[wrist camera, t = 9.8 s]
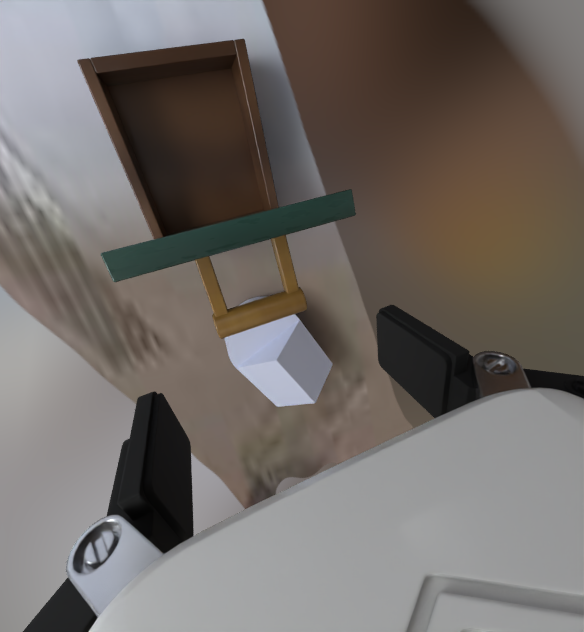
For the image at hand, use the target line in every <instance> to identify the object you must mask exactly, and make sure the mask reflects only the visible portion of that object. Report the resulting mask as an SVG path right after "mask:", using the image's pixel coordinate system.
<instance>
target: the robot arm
mask: <svg viewBox="0 0 584 632" xmlns="http://www.w3.org/2000/svg"><path fill="white" fill-rule="evenodd" d="M376 318H377V341H378V361H379V364H380V366H381V367H382V368H383V369H384V370H385V371H386V372H387V373H388V374H389V375H390V376H391V377H392V378H393V379H394V380H395V381H396V382H398V383H399V384H400V385H401V386H402V387H403V388H404V389H405V390H406V391H407V392H408V393H409V394H410V395H411V396H412V397H413V398H414V399H415V400H416V401H417V402H418V403H419V404H420V405H422V406H423V407H424V408H425V409H426V410H427V411H428V412H429V413H430V414H431V415H432V416H433V417H434V418H435V419H433V420H431V421H428V422H426V423H425V424H422V425H420V426H418V427H416V428H414V429H411V430H409V431H407V432H405V433H403V434H401V435H399V436H397V437H395V438H392V439H390V440H388V441H386V442H384V443H382V444H380V445H378V446H376V447H373V448H371V449H369V450H367V451H365V452H363V453H361V454H359V455H357V456H355V457H353V458H350V459H348V460H346V461H344V462H342V463H340V464H338V465H336V466H334V467H332V468H330V469H328V470H325V471H323V472H321V473H319V474H317V475H315V476H313V477H311V478H309V479H307V480H305V481H303V482H301V483H299V484H296V485H294V486H293V487H290V488H288V489H286V490H284V491H282V492H280V493H278V494H276V495H274V496H272V497H270V498H268V499H266V500H263V501H261V502H259V503H257V504H255V505H253V506H251V507H249V508H247V509H245V510H243V511H241V512H239V513H237V514H235V515H233V516H231V517H229V518H227V519H225V520H224V521H221V522H219V523H218V524H215V525H213V526H212V527H210V528H208V529H206V530H204V531H202V532H200V533H198V534H196V535H195V536H193V505H192V504H193V503H192V475H191V446H190V441H189V439H188V437H187V435H186V433H185V431H184V430H183V428H182V426H181V425H180V423H179V421H178V419H177V418H176V416H175V414H174V412H173V411H172V409H171V407H170V405H169V404H168V402H167V400H166V399H165V397H164V395H163V394H162V393H160V394H157V393H156V392H151V393H149V394H146V395H143V396H140V397H139V398H138V400H137V404H136V409H135V415H134V420H133V425H132V430H131V435H130V439H128V440H126V441H124V443H123V445H122V449H121V453H120V458H119V462H118V467H117V472H116V476H115V481H114V485H113V490H112V494H111V499H110V503H109V508H108V512H107V516H106V517H104V518H102V519H100V520H98V521H97V522H95V523H94V524H92V525H91V526H90V527H89V528H88V529H87V530H86V531H85V532H84V533H83V534H82V535H81V537H80V538H79V539H78V540H77V541H76V543H75V545H74V547H73V548H72V550H71V552H70V555H69V557H68V560H67V566H66V572H67V575H68V578H67V579H66V580H65V582H64V583H63V584H62V585H61V586H60V588H59V589H58V590H57V591H56V593H55V594H54V595H53V596H52V597H51V599H50V600H49V601H48V602H47V603H46V605H45V606H44V607H43V608H42V609H41V610H40V612H39V613H38V614H37V615H36V616H35V618H34V619H33V620H32V621H31V623H30V624H29V625H28V626H27V627H26V629H25V630H24V631H23V632H584V376H579V375H571V374H563V373H554V372H546V371H538V370H530V369H523V368H522V366H521V364H520V363H519V361H517V360H516V359H515V358H514V357H512V356H509V355H507V354H504V353H501V352H495V351H484V352H480V353H478V354H476V355H475V356H474V357H473V356H471V355H470V354H469V351H468V350H467V349H465V348H463V347H461V346H460V345H459V344H457V343H455V342H454V341H452V340H450V339H449V338H447V337H445V336H444V335H442V334H440V333H439V332H437V331H436V330H434V329H432V328H431V327H429V326H427V325H426V324H424V323H422V322H421V321H419V320H417V319H416V318H414V317H413V316H411V315H409V314H407V313H406V312H404V311H403V310H401V309H399V308H398V307H396V306H394V305H390V306H387V307H384V308H381V309H380V310H379V313H378V314H377V317H376Z"/></svg>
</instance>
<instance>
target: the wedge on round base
mask: <svg viewBox="0 0 584 632" xmlns="http://www.w3.org/2000/svg"><path fill="white" fill-rule="evenodd" d="M265 297H268V296H260V297H254V298H251V299H248V300H246V301H244V302H243V303H241V304H240V305H243V304H246V303H249V302H252V301H255V300H258V299H261V298H265ZM240 305H238V306H240ZM225 342H226V346H227V350H228V355H229V358H230V360H231V362H232V364H233V365H234V366H235V367H236V368H237V369H238V370H239V371H240V372H241V373H242V374H243V375H244V376H245V377H246V378H247V379H248V380H249V381H250V382H252V383H253V384H254V385H255V386H256V387H257V388H258V389H259V390H260V391H261V392H262V393H263V394H264V395H265V396H266V397H267V398H269V399H270V400H271V401H272V402H273V403H274V404H275V405H276V406H277V407H280V406H290V405H301V404H311V403H316V401H317V398H318V396H319V394H320V392H321V389H322V387H323V385H324V383H325V380H326V378H327V376H328V374H329V372H330V369H331V367H332V365H333V364H332V362H331V361H330V360H329V358H328V357H327V356H326V354H325V353H324V352H323V350H322V349H321V348H320V346H319V345H318V344H317V342H316V341H315V340H314V338H313V337H312V336H311V334H310V333H309V331H308V330H307V329H306V327H305V326H304V325H303V323H302V322H301V321H300V319H299V318H298V317H297V316H296V315H295V314H293V315H290V316H287V317H284V318H281V319H279V320H276V321H273V322H270V323H267V324H264V325H261V326H258V327H255V328H252V329H249V330H246V331H243V332H240V333H237V334H234V335H231V336H229V337H226V338H225Z"/></svg>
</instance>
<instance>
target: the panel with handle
mask: <svg viewBox="0 0 584 632" xmlns="http://www.w3.org/2000/svg"><path fill="white" fill-rule="evenodd" d="M355 215H356V213H355V207H354V201H353V195H352V190H351V189H350V190H346V191H342V192H338V193H334V194H330V195H326V196H322V197H318V198H314V199H310V200H307V201H303V202H299V203H295V204H291V205H287V206H283V207H279V208H275V209H271V210H267V211H264V212H260V213H256V214H252V215H248V216H244V217H240V218H236V219H232V220H228V221H224V222H221V223H217V224H213V225H209V226H205V227H201V228H197V229H193V230H189V231H185V232H181V233H178V234H174V235H170V236H166V237H162V238H158V239H154V240H150V241H146V242H142V243H138V244H135V245H131V246H127V247H123V248H119V249H115V250H111V251H107V252H103V253H101V256H102V258H103V261H104V263H105V265H106V267H107V269H108V271H109V273H110V275H111V278H112V280H113V281H114V282H118V281H121V280H125V279H128V278H132V277H136V276H139V275H143V274H146V273H150V272H154V271H157V270H161V269H164V268H168V267H172V266H175V265H179V264H182V263H186V262H190V261H193V260H195V262H196V265H197V268H198V270H199V273H200V276H201V279H202V281H203V284H204V287H205V290H206V292H207V295H208V298H209V301H210V304H211V306H212V309H213V312H214V314H213V315H212V317H213V321H214V324H215V327H216V330H217V333H218V335H219V337H220V338H221V339H223V338H226V337H229V336H231V335H234V334H237V333H240V332H243V331H246V330H249V329H252V328H255V327H258V326H261V325H264V324H267V323H270V322H273V321H276V320H279V319H281V318H284V317H287V316H290V315H293V314H296V313H299V312H302V311H305V310H306V309H307V302H306V298H305V295H304V293H303V291H302V290H301V288H300V287H298V283H297V279H296V275H295V271H294V267H293V263H292V259H291V255H290V251H289V247H288V243H287V239H286V235H287V234H290V233H294V232H298V231H301V230H305V229H308V228H312V227H316V226H319V225H323V224H326V223H330V222H334V221H337V220H341V219H344V218H348V217H352V216H355ZM269 239H271V242H272V246H273V250H274V254H275V257H276V261H277V265H278V269H279V272H280V276H281V280H282V284H283V287H284V291H283V292H280V293H277V294H274V295H271V296H268V297H265V298H261V299H258V300H255V301H252V302H249V303H246V304H243V305H240V306H236V307H233V308H230V309H227V307H226V304H225V301H224V298H223V295H222V292H221V289H220V286H219V283H218V280H217V277H216V275H215V272H214V269H213V266H212V263H211V260H210V257H209V256H211V255H215V254H218V253H222V252H226V251H229V250H233V249H236V248H240V247H244V246H247V245H251V244H254V243H258V242H262V241H265V240H269Z"/></svg>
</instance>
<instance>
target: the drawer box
mask: <svg viewBox="0 0 584 632" xmlns="http://www.w3.org/2000/svg"><path fill="white" fill-rule="evenodd" d="M77 61H78V64H79V66H80V69H81V71H82V73H83V76H84V78H85V80H86V83H87V85H88V87H89V90H90V92H91V94H92V97H93V99H94V101H95V103H96V106H97V108H98V110H99V113H100V115H101V117H102V120H103V122H104V124H105V127H106V129H107V131H108V134H109V136H110V138H111V141H112V143H113V145H114V148H115V150H116V152H117V155H118V157H119V159H120V162H121V164H122V166H123V169H124V171H125V173H126V175H127V178H128V180H129V182H130V185H131V187H132V189H133V192H134V194H135V196H136V199H137V201H138V203H139V206H140V208H141V210H142V213H143V215H144V217H145V220H146V222H147V224H148V227H149V229H150V231H151V234H152V236H153V238H154V239H158V238H162V237H166V236H170V235H174V234H178V233H181V232H185V231H189V230H193V229H197V228H201V227H205V226H209V225H213V224H217V223H221V222H224V221H228V220H232V219H236V218H240V217H244V216H248V215H252V214H256V213H260V212H264V211H267V210H271V209H275V208H279V207H278V202H277V197H276V192H275V187H274V182H273V177H272V172H271V167H270V162H269V157H268V152H267V147H266V143H265V138H264V133H263V128H262V123H261V118H260V113H259V108H258V103H257V98H256V93H255V88H254V83H253V78H252V74H251V69H250V64H249V59H248V54H247V49H246V44H245V40H244V39H238V40H234V41H233V40H230V41H222V42H214V43H206V44H198V45H190V46H182V47H174V48H166V49H158V50H150V51H142V52H134V53H126V54H118V55H110V56H102V57H95V58H91V59H89V58H88V59H80V60H77Z"/></svg>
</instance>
